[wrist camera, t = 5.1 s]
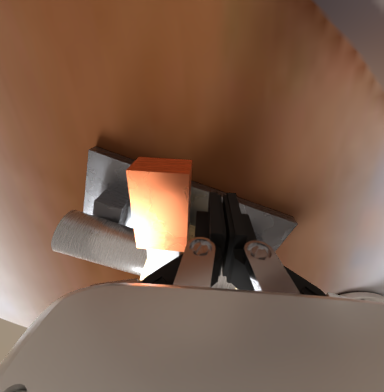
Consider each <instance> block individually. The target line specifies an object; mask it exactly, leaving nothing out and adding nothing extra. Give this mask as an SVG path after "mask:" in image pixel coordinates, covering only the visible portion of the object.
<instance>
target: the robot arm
mask: <svg viewBox="0 0 384 392" xmlns="http://www.w3.org/2000/svg"><path fill="white" fill-rule="evenodd" d="M221 269H222V273H223V276H226V279H227V283H231V284H233V285H234V286H235V289H223V288H211V287H212V286H213V285H214V284H216V283H217V282H218V278H219V276H220V275H221ZM0 392H384V296H382V295H379V294H376V293H370V292H352V293H346V294H342V295H336V294H333V293H329V292H328V293H327V294H324V293H323V291H321V290H320V289H319V288H317V287H316V286H314V285H313V284H311V283H310V282H308V281H307V280H305V279H304V278H302V277H300V276H299V275H297V274H296V273H294V272H293V271H291V270H290V269H288V268H286V267H285V266H283V264H282V263H281V261H280V260H279V258H278V256H277V255H276V253H275V251H274V250H273V249H272V247H271V246H269V245H268V244H266V243H264V242H261V241H257V238H256V235H255V232H254V229H253V226H252V223H251V220H250V217H249V215H248V214H241V210H240V207H239V203H238V199H237V196H236V193H227V194H226V195H223V200H222V197H221V195H218V192H209V200H208V212H206V211H197V212H196V225H195V238H193V239H191V240H189V241H188V243H187V245H186V247H185V250H184V253H183V254H181V255H180V256H178V257H177V258H175V259H173V260H172V261H170V262H169V263H167V264H165V265H164V266H162V267H161V268H159V269H157V270H156V271H154V272H153V273H151V274H149V275H148V276H147V277H145V278H144V280H139V281H138V280H137V278H136V279H129V280H121V281H114V282H106V283H99V284H94V285H91V286H89V287H86V288H82V289H78V290H76V291H73V292H70V293H68V294H66V295H64V296H62V297H60V298H58V299H57V300H55V301H54V302H53V303H52V304H50V305H49V306H48V307H47V308H46V309H45V310H44V311H43V312H42V313H41V314H40V315H39V316H38V317H37V318H36V319H35V321H34V322H33V323H32V324H31V325H30V326H29V328H28V329H27V330H26V331H25V333H24V334H23V335H22V336H21V337H20V339H19V340H18V341H17V342H16V344H15V345H14V346H13V348H12V349H11V350H10V352H9V353H8V354H7V356H6V357H5V358H4V360H3V361H2V362H1V364H0Z"/></svg>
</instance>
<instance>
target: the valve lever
mask: <svg viewBox="0 0 384 392" xmlns="http://www.w3.org/2000/svg"><path fill="white" fill-rule="evenodd" d="M126 175H127V182H128V189H129V196H130V203H131V211H132V218H133V225H134V232H135V239H136V246H137V248H141V249H147V256H148V266H149V274H151V273H153V272H154V271H156V270H157V269H159V268H161V267H162V266H164V265H165V264H167V263H169V262H170V261H172V260H173V259H175V258H177V257H178V256H180V255H181V252H184V250H185V247H186V245H187V243H188V236H189V223H190V200H191V177H192V160H183V159H167V158H151V157H138V158H137V159H136V160H135V161H134V162H133V163H132V164H131V165H130V166H129V168H128V169H127V170H126Z"/></svg>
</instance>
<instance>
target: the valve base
mask: <svg viewBox="0 0 384 392" xmlns="http://www.w3.org/2000/svg"><path fill="white" fill-rule="evenodd" d="M134 161H135V160H133V159H130V158H127V157H124V156H122V155H119V154H116V153H113V152H111V151H108V150H105V149H102V148H99V147H97V146H95V147H93V148H91V149H89V153H88V164H87V176H86V188H85V199H84V211H83V212H80V211H77V210H72V211H70V212H68V213H67V214H66V215H65V216H64V217H63V218H62V220H61V221H60V223H59V224H58V226H57V228H56V230H55V232H54V235H53V238H52V243H51V247H52V250H53V251H56V252H59V253H63V254H66V255H70V256H73V257H77V258H80V259H84V260H87V261H91V262H94V263H98V264H101V265H105V266H108V267H112V268H115V269H119V270H122V271H125V272H129V273H132V274H136V275H139V276H141V277H140V280H144V278H145V277H147V276H148V275H149V266H148V256H147V249H141V248H137V246H136V239H135V232H134V225H133V218H132V211H131V203H130V196H129V189H128V182H127V175H126V170H127V169H128V168H129V166H130V165H131V164H132V163H133V162H134ZM209 192H218V195H221V197H222V200H223V195H226V194H227V193H225V192H222V191H219V190H217V189H214V188H211V187H208V186H205V185H203V184H200V183H197V182H194V181H191V200H190V223H189V236H188V241H189V240H191V239H193V238H195V225H196V212H197V211H206V212H208V200H209ZM237 199H238V203H239V207H240V210H241V214H248V215H249V217H250V220H251V223H252V226H253V229H254V232H255V235H256V238H257V241H261V242H264V243H266V244H268V245H269V246H271V247H272V249H273V250H274V251H276V250H277V248H278V247H279V246H280V245H281V244H282V242H283V241H284V240H285V239H286V238H287V236H288V235H289V234H290V233H291V231H292V230H293V229H294V228H295V227H296V225H297V222H296V221H295V219H294V218H293V217H292V216H289V215H286V214H284V213H281V212H278V211H275V210H272V209H270V208H267V207H264V206H261V205H259V204H256V203H253V202H250V201H247V200H245V199H242V198H239V197H237ZM183 253H184V252H181V254H183ZM211 288H223V289H235V286H234V285H233V284H231V283H227V279H226V276H223V273H222V269H221V275H220V276H219V278H218V282H217V283H216V284H214V285H213V286H212V287H211Z"/></svg>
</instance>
